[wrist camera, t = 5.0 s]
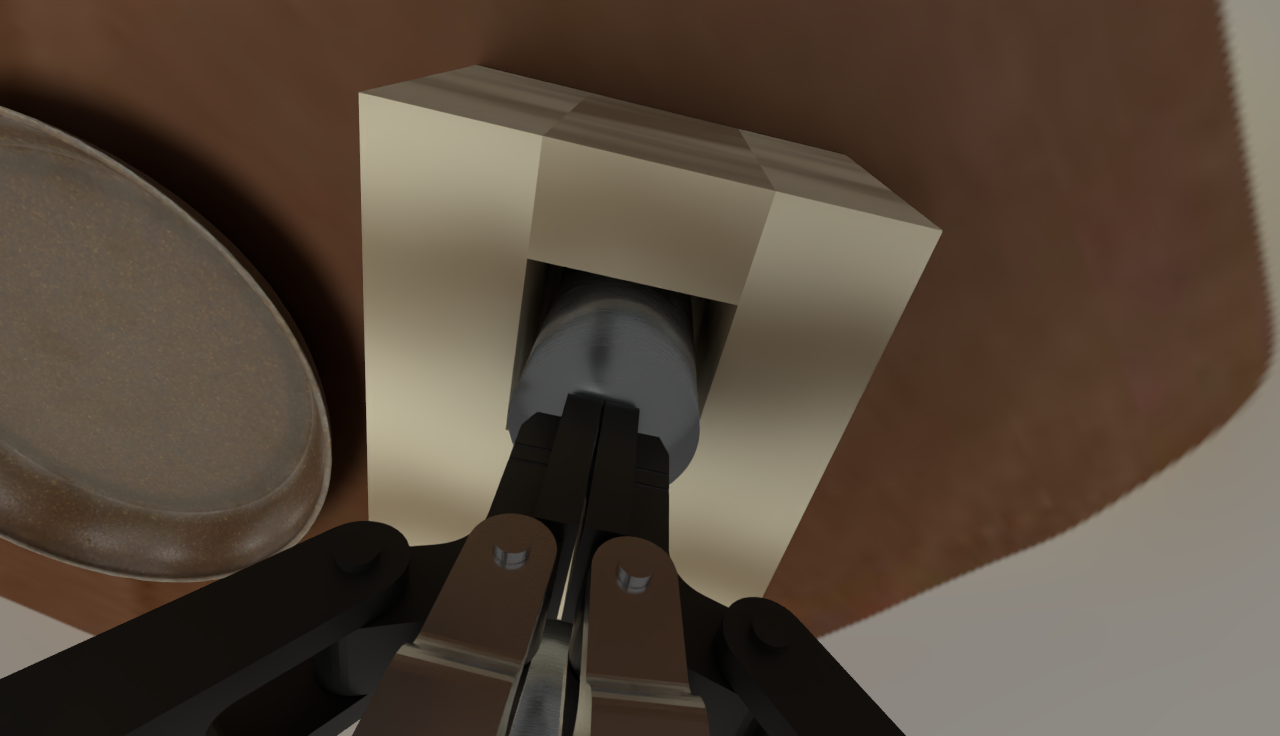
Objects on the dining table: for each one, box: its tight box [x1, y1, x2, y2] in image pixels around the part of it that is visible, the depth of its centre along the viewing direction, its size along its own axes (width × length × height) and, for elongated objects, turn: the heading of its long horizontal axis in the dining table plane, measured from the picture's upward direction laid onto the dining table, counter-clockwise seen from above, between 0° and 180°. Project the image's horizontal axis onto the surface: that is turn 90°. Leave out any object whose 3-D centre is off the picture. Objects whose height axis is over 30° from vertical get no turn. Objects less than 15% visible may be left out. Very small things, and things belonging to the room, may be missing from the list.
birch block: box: [359, 65, 943, 620], centre depth 21 cm, size 22×12×8 cm, turn 168°
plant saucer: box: [0, 106, 332, 582], centre depth 23 cm, size 21×21×3 cm
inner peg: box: [508, 267, 700, 484], centre depth 16 cm, size 4×4×8 cm
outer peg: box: [511, 619, 573, 736], centre depth 19 cm, size 4×4×8 cm
